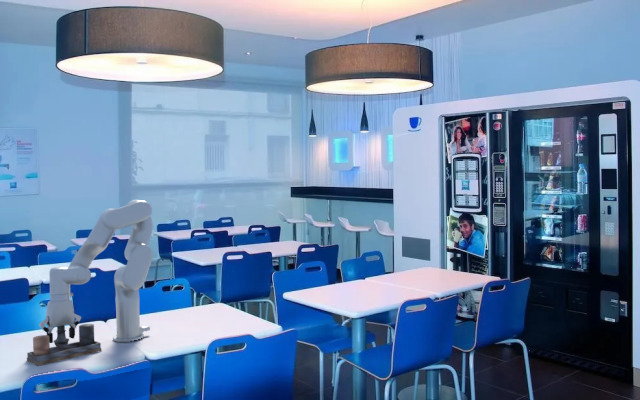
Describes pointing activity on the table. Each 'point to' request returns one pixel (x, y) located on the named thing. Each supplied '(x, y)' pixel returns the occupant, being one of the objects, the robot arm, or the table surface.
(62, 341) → the salt shaker
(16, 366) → the table surface
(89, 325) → the condiment rail
